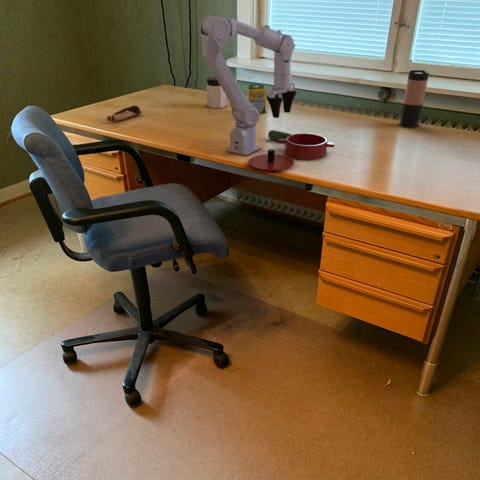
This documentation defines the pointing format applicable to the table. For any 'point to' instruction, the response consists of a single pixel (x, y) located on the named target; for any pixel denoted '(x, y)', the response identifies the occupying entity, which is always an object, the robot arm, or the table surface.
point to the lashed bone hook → (125, 114)
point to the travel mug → (413, 98)
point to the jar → (215, 94)
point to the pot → (306, 146)
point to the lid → (270, 162)
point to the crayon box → (258, 97)
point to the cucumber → (277, 135)
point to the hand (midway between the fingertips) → (281, 114)
